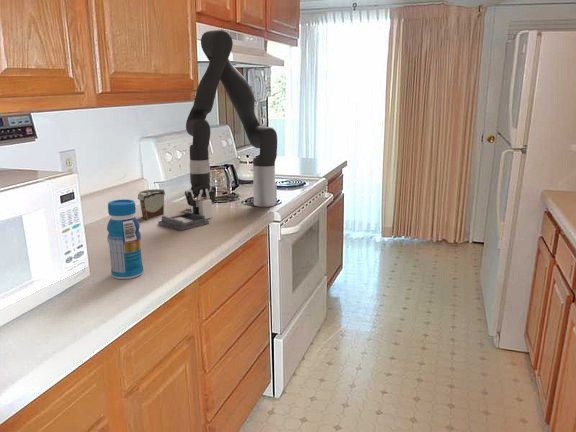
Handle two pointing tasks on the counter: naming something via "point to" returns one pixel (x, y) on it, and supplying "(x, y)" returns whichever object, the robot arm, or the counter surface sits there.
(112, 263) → the beverage bottle
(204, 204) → the block
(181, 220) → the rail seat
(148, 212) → the food container
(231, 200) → the counter surface
